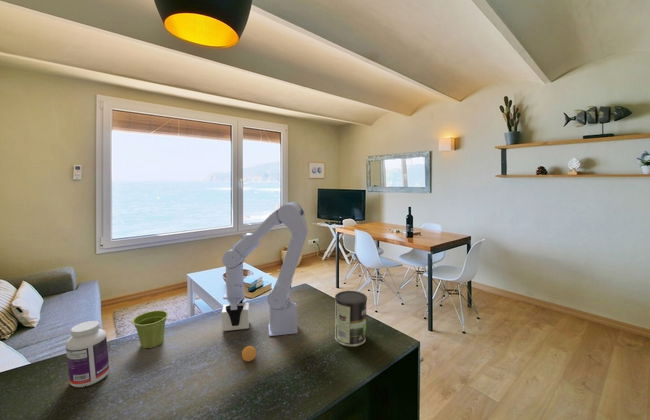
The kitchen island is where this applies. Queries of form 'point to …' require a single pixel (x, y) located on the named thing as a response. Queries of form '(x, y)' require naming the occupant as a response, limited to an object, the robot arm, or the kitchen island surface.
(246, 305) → the white rectangular prism
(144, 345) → the plant pot
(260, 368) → the kitchen island surface
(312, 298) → the kitchen island surface
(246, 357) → the ball
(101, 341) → the pill bottle
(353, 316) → the coffee can
